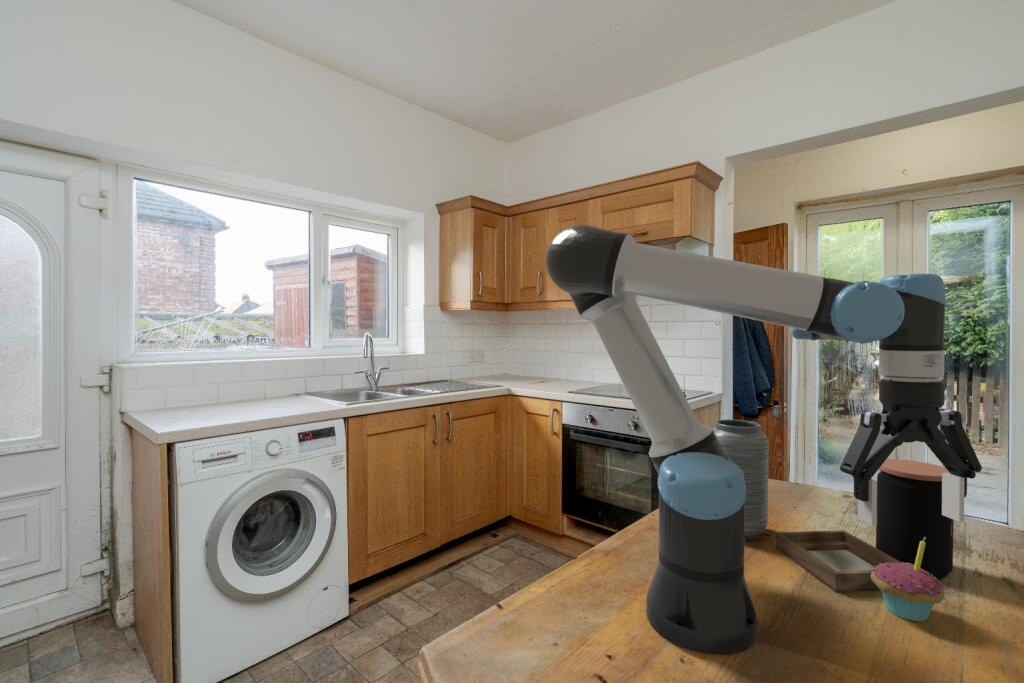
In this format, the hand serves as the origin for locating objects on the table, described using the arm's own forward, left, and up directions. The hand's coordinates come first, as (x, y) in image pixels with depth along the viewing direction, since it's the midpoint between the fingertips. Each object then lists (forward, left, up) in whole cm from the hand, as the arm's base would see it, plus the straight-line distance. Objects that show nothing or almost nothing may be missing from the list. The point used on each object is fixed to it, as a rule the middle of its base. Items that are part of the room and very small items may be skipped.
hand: (910, 520), depth 72 cm
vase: (-10, +30, -14) cm, 35 cm away
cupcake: (0, 0, -14) cm, 14 cm away
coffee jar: (+13, +13, -14) cm, 24 cm away
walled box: (0, +14, -14) cm, 20 cm away
